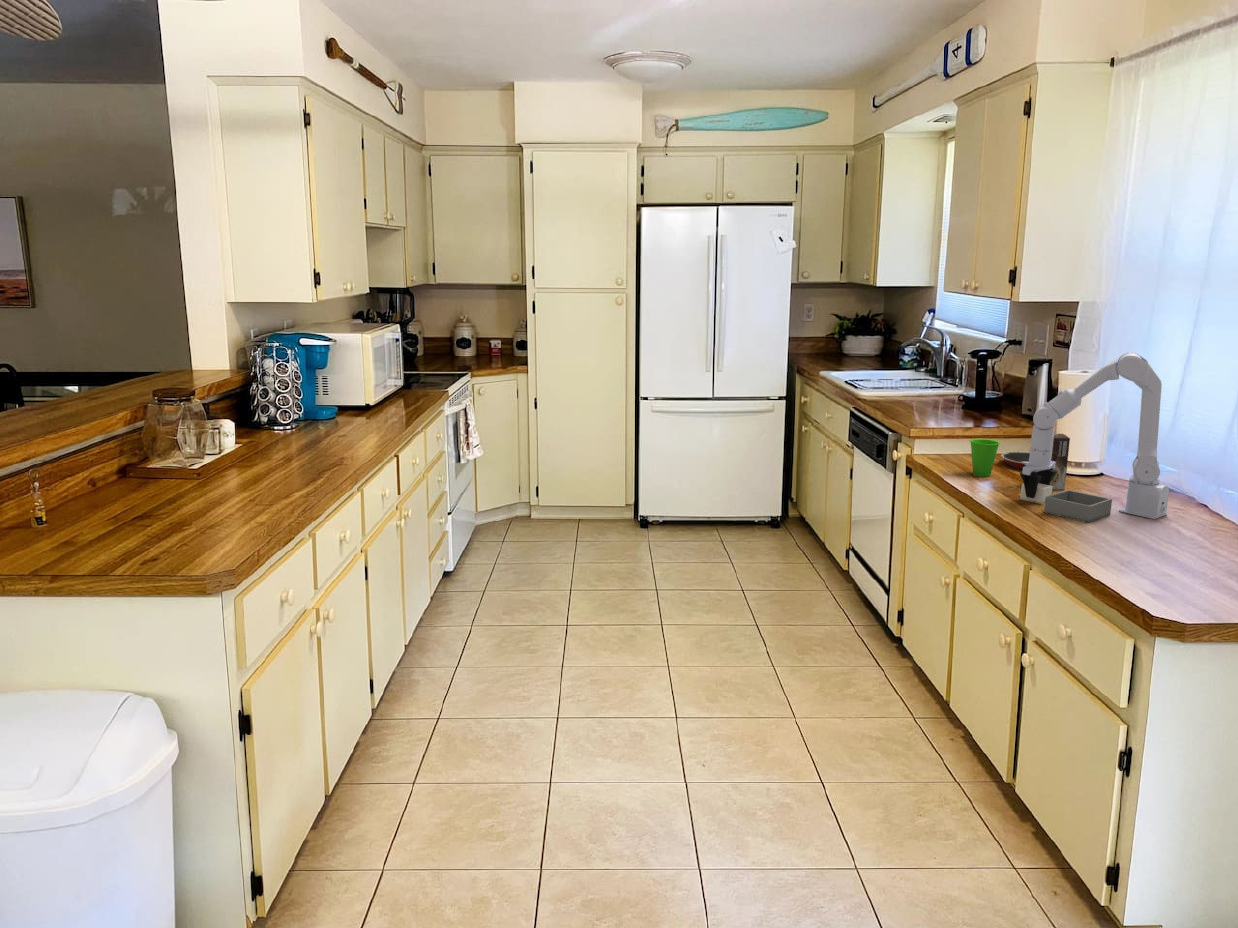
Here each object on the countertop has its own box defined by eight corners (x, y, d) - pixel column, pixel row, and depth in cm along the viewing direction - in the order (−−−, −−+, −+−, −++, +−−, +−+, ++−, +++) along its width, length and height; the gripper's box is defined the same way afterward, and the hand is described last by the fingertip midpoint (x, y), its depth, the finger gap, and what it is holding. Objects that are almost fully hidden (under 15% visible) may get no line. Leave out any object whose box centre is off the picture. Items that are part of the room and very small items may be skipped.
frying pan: (1048, 460, 317) (1049, 450, 317) (1089, 484, 286) (1090, 472, 286) (992, 459, 319) (993, 449, 318) (1026, 483, 287) (1027, 471, 287)
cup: (960, 473, 299) (963, 439, 296) (981, 470, 302) (984, 437, 300) (981, 479, 291) (985, 445, 288) (1003, 476, 294) (1006, 442, 292)
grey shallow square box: (1110, 515, 254) (1112, 499, 253) (1088, 522, 246) (1090, 506, 245) (1066, 505, 263) (1067, 489, 262) (1043, 512, 256) (1045, 496, 255)
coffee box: (1057, 484, 285) (1063, 433, 281) (1065, 490, 279) (1071, 437, 275) (1026, 483, 286) (1032, 432, 282) (1033, 489, 280) (1039, 436, 276)
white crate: (1050, 501, 267) (1052, 486, 266) (1041, 504, 264) (1043, 488, 263) (1029, 496, 272) (1030, 481, 271) (1020, 499, 269) (1021, 484, 268)
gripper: (1040, 443, 272) (1035, 488, 275) (1014, 450, 263) (1009, 496, 266) (1064, 448, 266) (1059, 493, 269) (1038, 454, 258) (1032, 501, 261)
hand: (1035, 495), depth 267 cm, fingers open, 6 cm apart
